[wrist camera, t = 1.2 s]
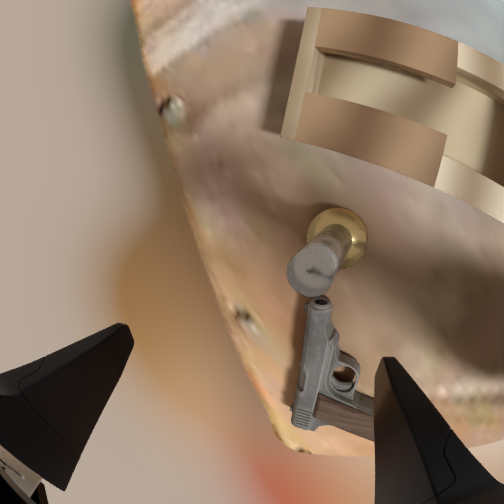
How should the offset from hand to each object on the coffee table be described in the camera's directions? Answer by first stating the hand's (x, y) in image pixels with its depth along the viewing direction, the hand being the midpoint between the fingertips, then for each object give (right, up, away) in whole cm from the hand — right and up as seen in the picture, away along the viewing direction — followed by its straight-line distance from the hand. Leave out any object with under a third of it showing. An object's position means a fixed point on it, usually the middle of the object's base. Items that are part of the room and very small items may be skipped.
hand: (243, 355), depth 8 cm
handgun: (+11, -8, +14) cm, 20 cm away
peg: (+7, +4, +11) cm, 14 cm away
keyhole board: (+11, +13, +5) cm, 18 cm away
